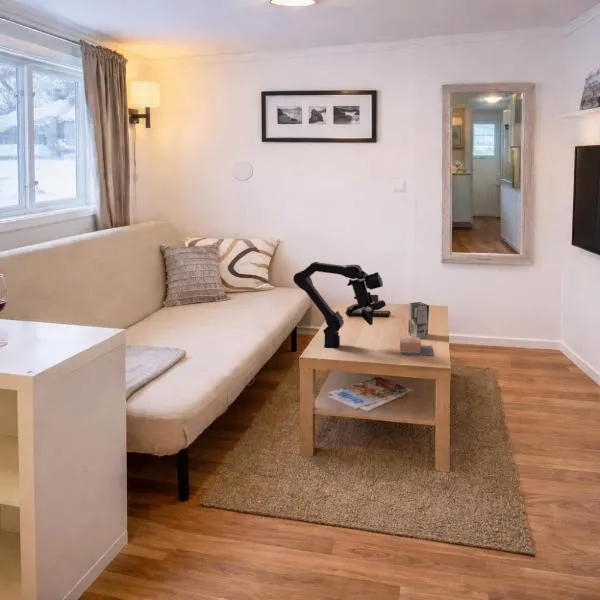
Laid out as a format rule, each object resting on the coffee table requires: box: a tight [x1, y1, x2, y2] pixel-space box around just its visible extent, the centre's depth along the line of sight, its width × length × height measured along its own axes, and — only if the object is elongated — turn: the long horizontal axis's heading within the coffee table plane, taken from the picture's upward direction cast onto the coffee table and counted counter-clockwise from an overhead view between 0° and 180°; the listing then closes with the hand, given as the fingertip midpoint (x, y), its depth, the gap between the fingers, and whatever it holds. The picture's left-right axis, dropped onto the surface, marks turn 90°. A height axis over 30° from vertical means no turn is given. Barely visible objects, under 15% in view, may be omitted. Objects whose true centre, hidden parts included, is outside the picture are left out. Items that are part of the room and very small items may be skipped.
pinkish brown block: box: [399, 336, 422, 353], centre depth 292 cm, size 4×10×9 cm
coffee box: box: [407, 301, 430, 339], centre depth 316 cm, size 9×6×16 cm
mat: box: [402, 344, 434, 357], centre depth 292 cm, size 13×16×1 cm
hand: (371, 324), depth 293 cm, fingers closed
